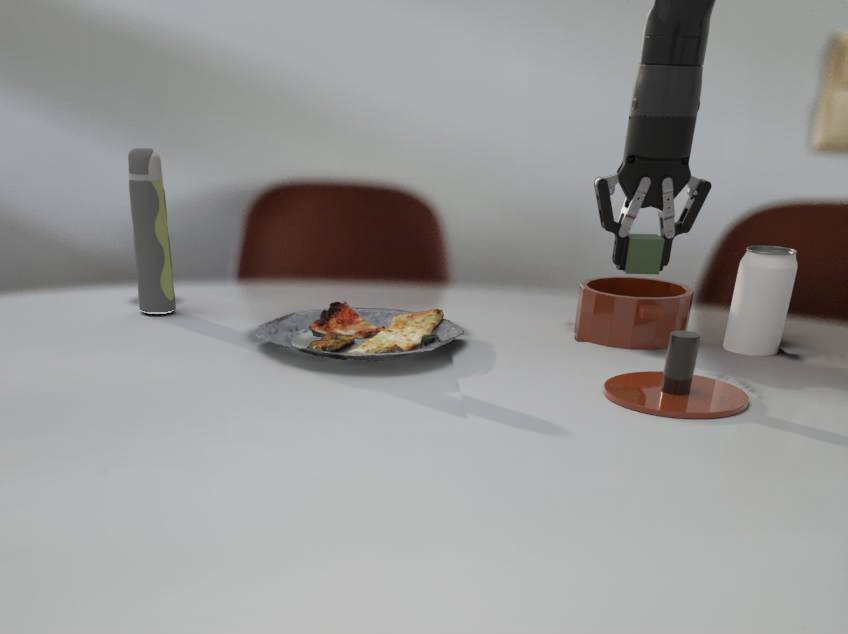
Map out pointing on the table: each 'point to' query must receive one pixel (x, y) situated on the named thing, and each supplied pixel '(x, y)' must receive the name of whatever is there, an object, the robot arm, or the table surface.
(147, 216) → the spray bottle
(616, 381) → the cover
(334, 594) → the table surface
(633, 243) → the block
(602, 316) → the dish
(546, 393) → the table surface
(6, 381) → the table surface
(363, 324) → the food plate
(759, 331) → the can
